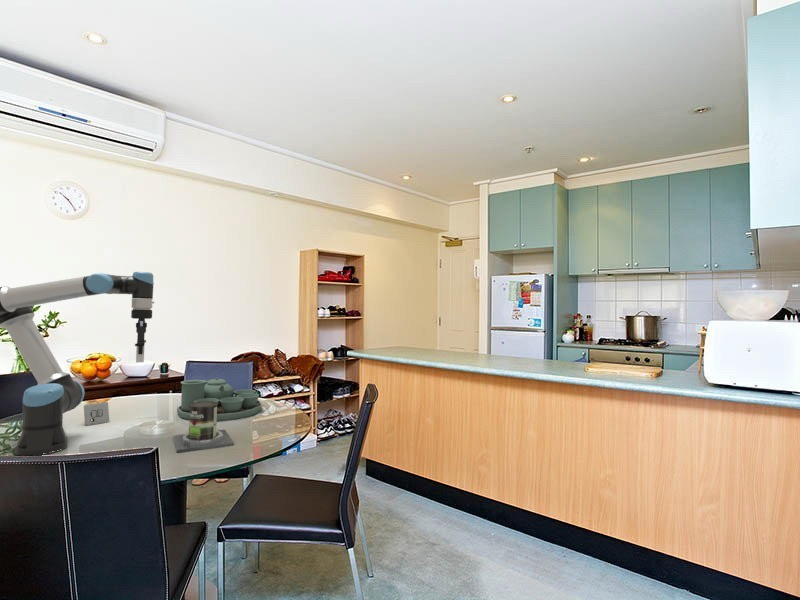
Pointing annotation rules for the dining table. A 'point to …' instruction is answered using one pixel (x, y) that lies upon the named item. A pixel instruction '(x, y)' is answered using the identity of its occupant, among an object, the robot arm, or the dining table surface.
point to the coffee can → (203, 420)
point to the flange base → (202, 442)
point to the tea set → (219, 399)
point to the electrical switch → (96, 413)
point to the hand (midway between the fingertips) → (140, 360)
